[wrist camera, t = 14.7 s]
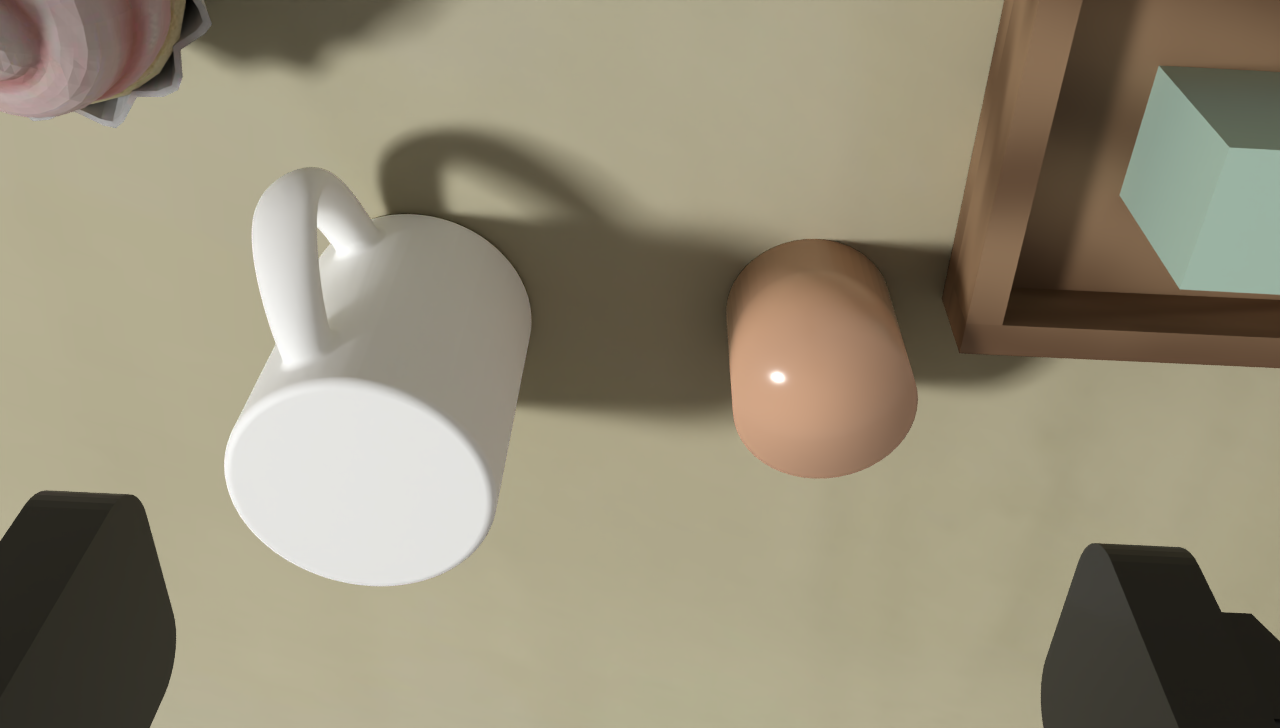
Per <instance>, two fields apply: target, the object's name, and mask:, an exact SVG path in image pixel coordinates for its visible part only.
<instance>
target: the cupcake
mask: <svg viewBox="0 0 1280 728" xmlns="http://www.w3.org/2000/svg"><path fill="white" fill-rule="evenodd" d="M211 25H212V23H211V20H210V17H209V14H208V11H207V8H206V5H205V2H204V0H0V111H2V112H5V113H8V114H12V115H17V116H23V117H28V118H30V119H31V120H32V121H38V120H49V119H52V118H54V117H56V116H60V115H63V114H67V113H70V112H73V111H74V112H76V113H79V114H81V115H83V116H85V117H87V118H89V119H91V120H93V121H95V122H97V123H100V124H102V125H104V126H109V127H113V128H117V127H118V126H119V125H120V124H121V123H122V122H124V120H125V118H126V116H127V114H128V112H129V111H130V109H131V107H132V105H133V103H134V101H135V99H136V97H164V96H166V95H168V94H171V93H173V92H175V91H177V90H178V89H179V86H180V83H181V80H182V60H181V49H182V48H184V47H185V46H187V45H188V44H190V43H192V42H193V41H195V40H196V39H198V38H199V37H201V36H202V35H204V34H205V33H206V32H207V30H208V29H209V28H210V26H211Z"/></svg>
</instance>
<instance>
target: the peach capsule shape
mask: <svg viewBox="0 0 1280 728" xmlns="http://www.w3.org/2000/svg"><path fill="white" fill-rule="evenodd" d="M726 323H727V337H728V351H729V364H730V378H731V392H732V405H733V416H734V422H735V426H736V429H737V432H738V434H739V436H740V438H741V440H742V442H743V443H744V444H745V446H746V447H747V448H748V450H749V451H750V452H751V453H752V454H753V455H754V456H755V457H757V458H758V459H759V460H761V461H762V462H763V463H765V464H767V465H768V466H770V467H772V468H774V469H776V470H778V471H781V472H783V473H787V474H790V475H794V476H799V477H804V478H833V477H840V476H844V475H849V474H852V473H855V472H858V471H861V470H863V469H865V468H868V467H870V466H872V465H874V464H875V463H877V462H879V461H880V460H882V459H883V458H885V457H886V456H887V455H889V454H890V453H891V452H892V451H893V450H894V449H895V448H896V447H897V446H898V445H899V444H900V443H901V442H902V440H903V439H904V438H905V436H906V435H907V433H908V432H909V430H910V428H911V426H912V424H913V421H914V419H915V415H916V411H917V404H918V395H917V387H916V383H915V379H914V376H913V372H912V369H911V366H910V362H909V359H908V355H907V352H906V349H905V345H904V342H903V338H902V335H901V332H900V328H899V325H898V321H897V318H896V315H895V311H894V308H893V304H892V301H891V298H890V294H889V291H888V288H887V285H886V282H885V280H884V278H883V276H882V274H881V273H880V271H879V270H878V268H877V267H876V266H875V265H874V263H873V262H872V261H870V260H869V259H868V258H867V257H866V256H865V255H863V254H862V253H860V252H859V251H857V250H855V249H853V248H851V247H849V246H847V245H844V244H841V243H838V242H834V241H829V240H821V239H803V240H796V241H791V242H787V243H784V244H781V245H778V246H776V247H773V248H771V249H769V250H767V251H766V252H764V253H762V254H761V255H759V256H758V257H756V258H755V259H754V260H752V261H751V262H750V263H749V264H748V265H747V266H746V267H745V268H744V269H743V270H742V272H741V273H740V274H739V276H738V277H737V279H736V280H735V282H734V284H733V286H732V288H731V290H730V293H729V296H728V299H727V306H726Z"/></svg>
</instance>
